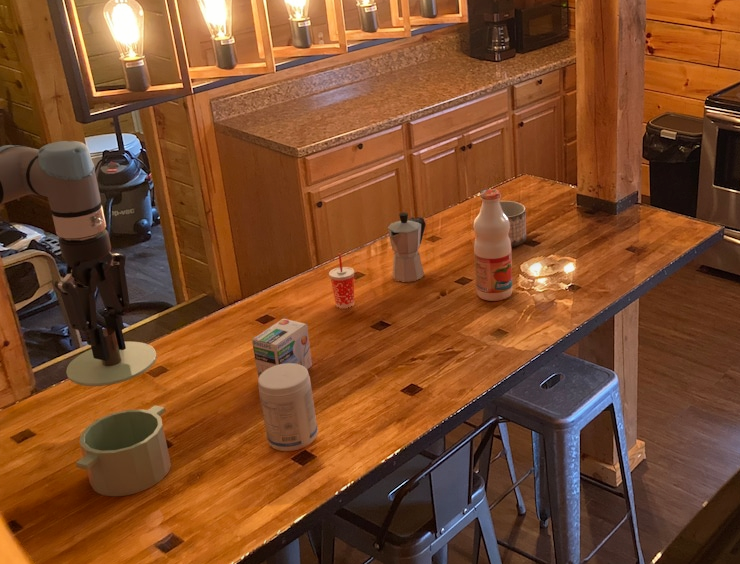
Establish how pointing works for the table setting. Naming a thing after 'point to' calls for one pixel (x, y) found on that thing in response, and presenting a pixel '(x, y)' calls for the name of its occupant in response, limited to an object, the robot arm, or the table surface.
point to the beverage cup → (343, 285)
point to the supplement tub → (288, 406)
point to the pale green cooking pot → (125, 452)
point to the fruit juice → (492, 249)
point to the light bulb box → (282, 345)
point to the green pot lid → (112, 363)
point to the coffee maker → (407, 247)
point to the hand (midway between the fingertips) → (109, 353)
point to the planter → (515, 221)
